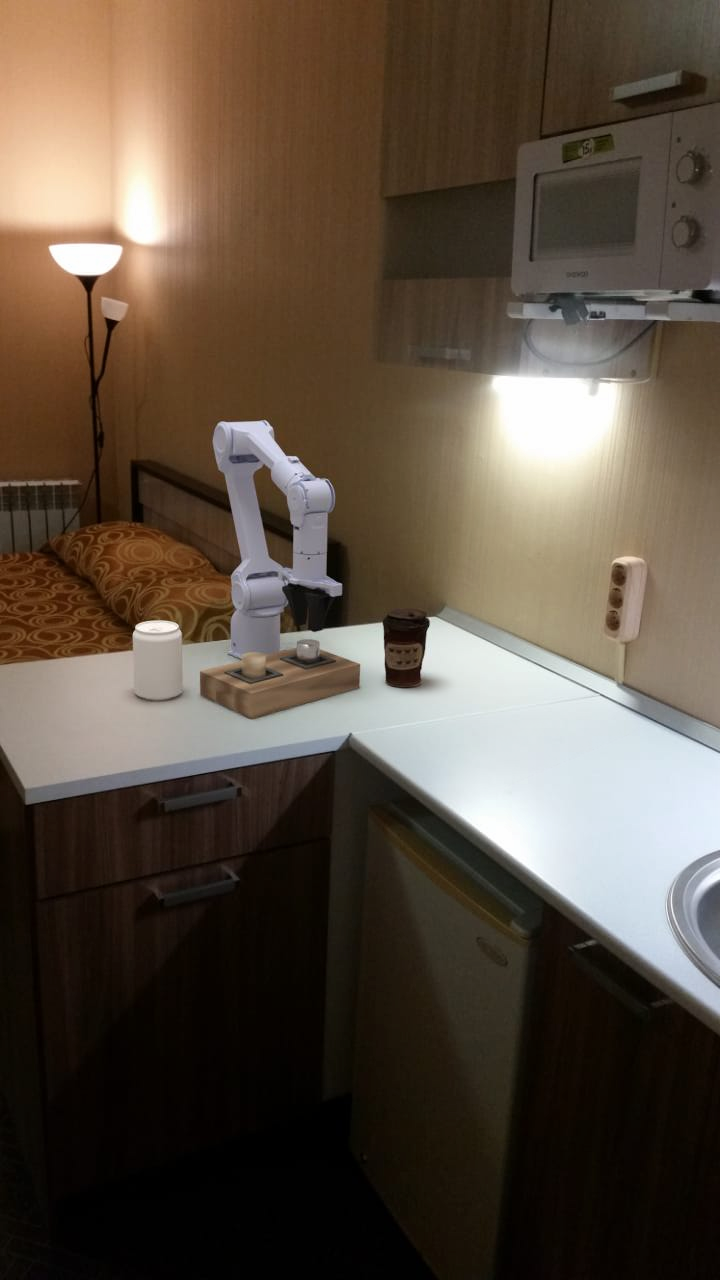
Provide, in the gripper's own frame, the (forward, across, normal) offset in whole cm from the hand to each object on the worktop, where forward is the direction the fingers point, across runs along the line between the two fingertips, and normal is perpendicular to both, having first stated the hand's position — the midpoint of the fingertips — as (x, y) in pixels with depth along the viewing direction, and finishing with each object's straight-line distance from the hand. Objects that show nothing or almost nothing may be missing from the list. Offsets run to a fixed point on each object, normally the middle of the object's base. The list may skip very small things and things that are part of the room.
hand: (308, 627), depth 189 cm
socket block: (+10, 0, -6) cm, 12 cm away
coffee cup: (+11, +10, +14) cm, 20 cm away
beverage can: (+11, -12, -23) cm, 28 cm away
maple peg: (+7, 0, -12) cm, 14 cm away
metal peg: (+7, 0, 0) cm, 7 cm away
